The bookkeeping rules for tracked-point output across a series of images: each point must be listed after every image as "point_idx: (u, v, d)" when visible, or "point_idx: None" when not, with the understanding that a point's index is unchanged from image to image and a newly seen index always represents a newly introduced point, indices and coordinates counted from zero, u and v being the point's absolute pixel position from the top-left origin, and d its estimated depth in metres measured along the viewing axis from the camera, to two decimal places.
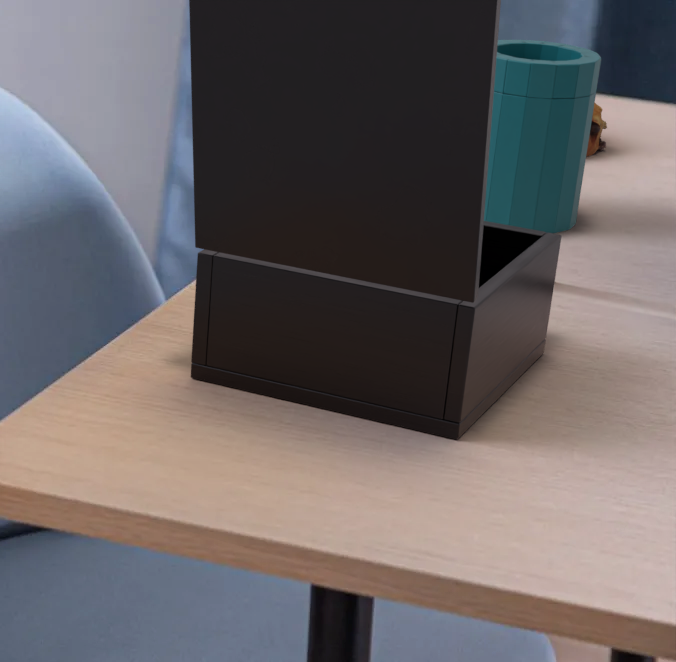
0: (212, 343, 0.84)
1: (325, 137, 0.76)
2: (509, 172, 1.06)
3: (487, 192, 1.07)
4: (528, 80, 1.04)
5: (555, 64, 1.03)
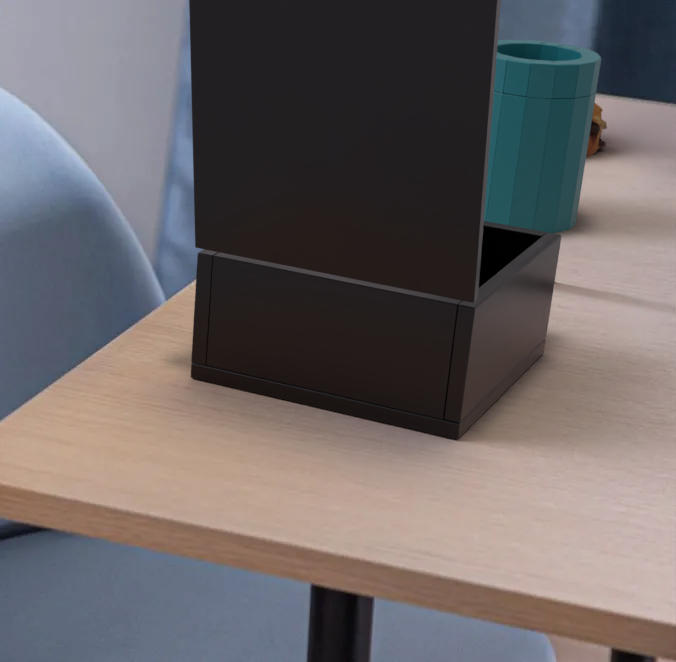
0: (212, 343, 0.84)
1: (325, 137, 0.76)
2: (509, 172, 1.06)
3: (487, 192, 1.07)
4: (528, 80, 1.04)
5: (555, 64, 1.03)
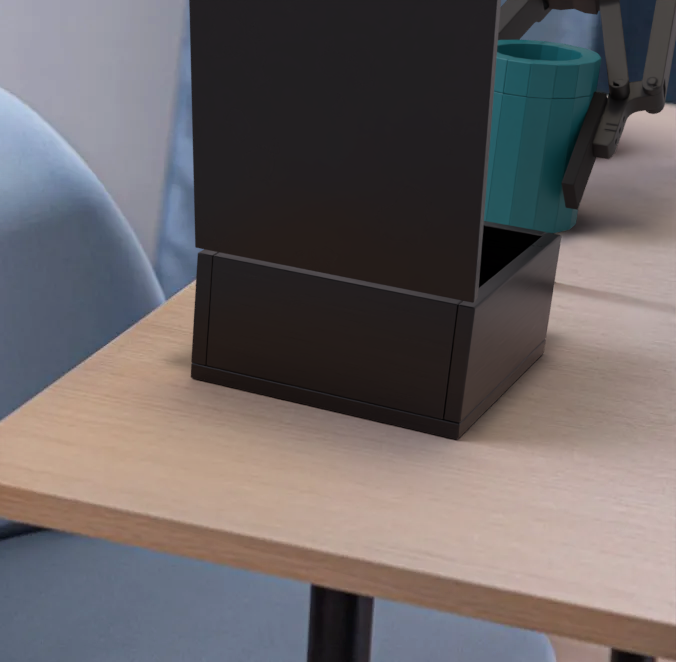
0: (212, 343, 0.84)
1: (325, 137, 0.76)
2: (509, 172, 1.06)
3: (487, 192, 1.07)
4: (528, 80, 1.04)
5: (555, 64, 1.03)
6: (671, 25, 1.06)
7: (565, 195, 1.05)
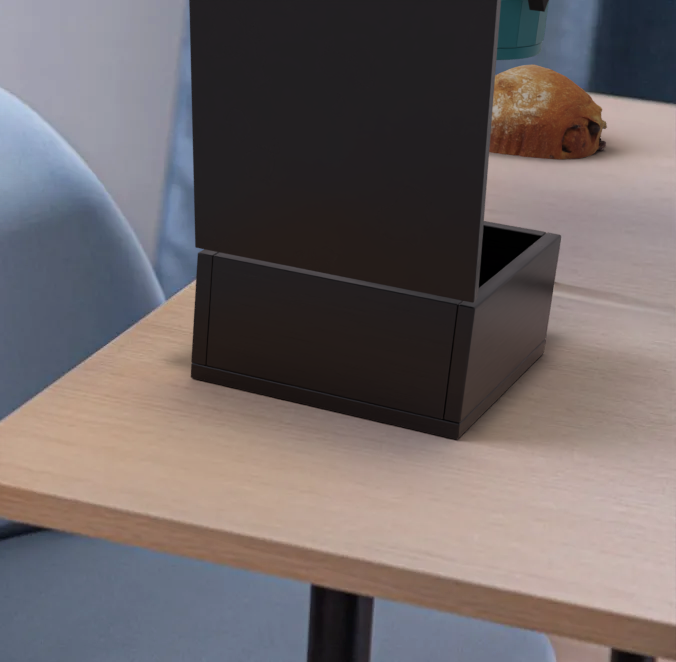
0: (212, 343, 0.84)
1: (325, 137, 0.76)
2: None
3: None
4: None
5: None
6: None
7: None
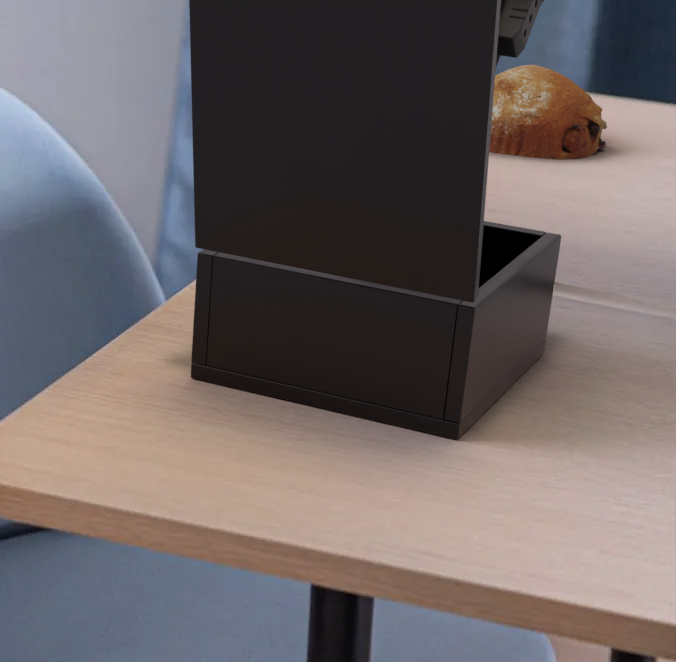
0: (212, 343, 0.84)
1: (325, 137, 0.76)
2: None
3: None
4: None
5: None
6: None
7: None
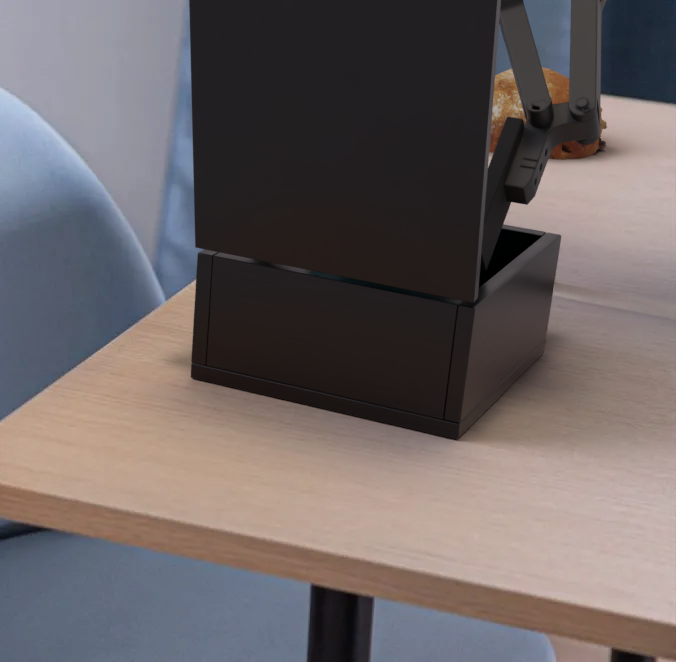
0: (212, 343, 0.84)
1: (325, 137, 0.76)
2: None
3: None
4: None
5: None
6: (595, 29, 0.81)
7: None
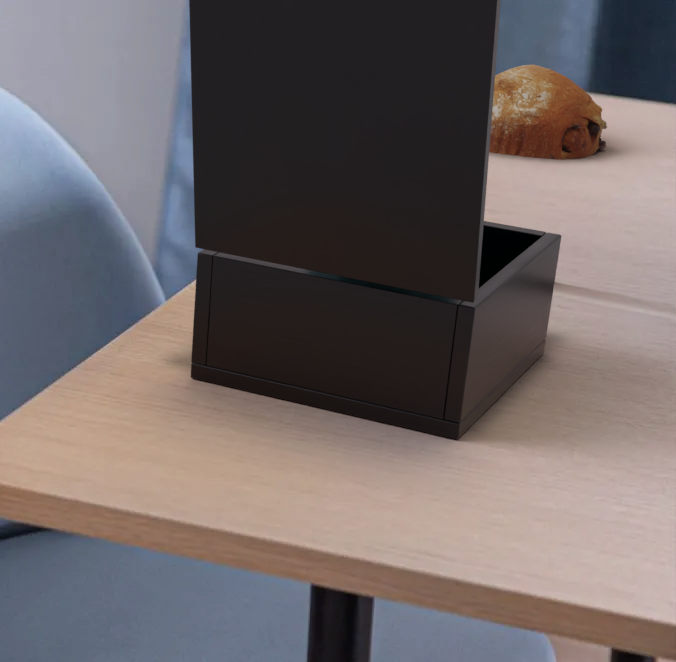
0: (212, 343, 0.84)
1: (325, 137, 0.76)
2: None
3: None
4: None
5: None
6: None
7: None
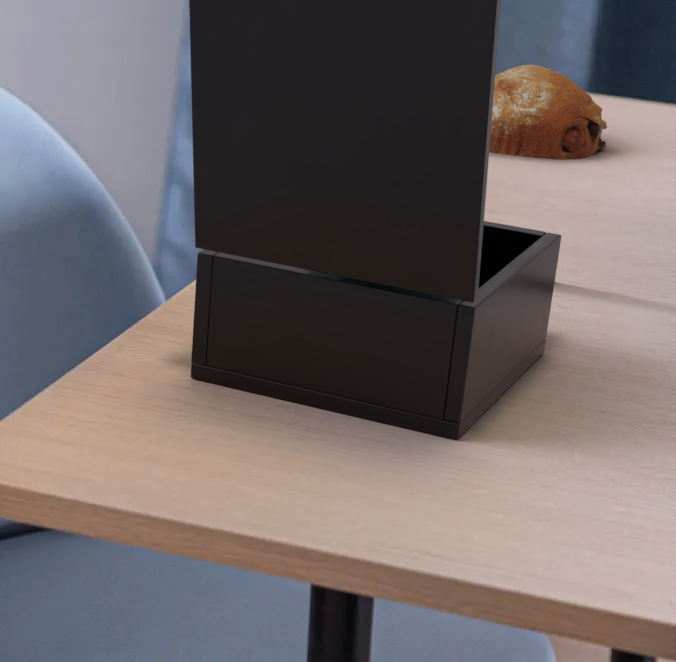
0: (212, 343, 0.84)
1: (325, 137, 0.76)
2: None
3: None
4: None
5: None
6: None
7: None
